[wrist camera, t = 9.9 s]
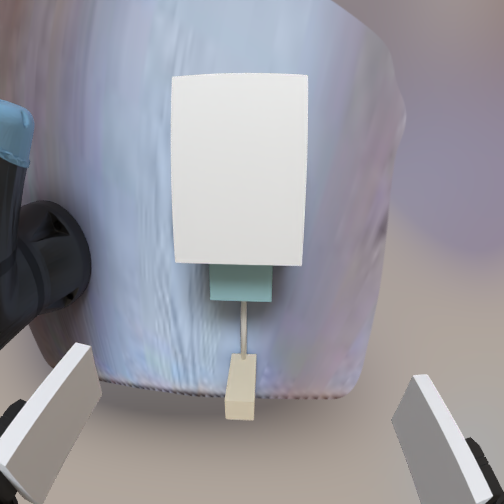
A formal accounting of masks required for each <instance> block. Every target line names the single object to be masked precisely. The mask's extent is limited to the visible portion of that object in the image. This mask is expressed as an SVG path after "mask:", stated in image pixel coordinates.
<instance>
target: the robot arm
mask: <svg viewBox="0 0 504 504" xmlns="http://www.w3.org/2000/svg"><path fill="white" fill-rule="evenodd" d="M33 133H34V120H33V117H32V115H31V113H30V112H29V111H28V110H27V109H25V108H23V107H21V106H19V105H16V104H13V103H11V102H8V101H4V100H1V99H0V350H1V349H2V348H3V347H4V346H5V345H6V344H7V343H8V342H9V341H10V340H11V339H12V338H14V336H16V335H17V334H18V333H19V332H20V331H21V330H22V329H23V328H24V327H25V326H26V325H28V324H29V323H30V322H31V321H32V320H33V319H34V318H35V317H37V316H38V315H40V314H44V313H48V312H51V311H55V310H59V309H62V308H65V307H67V306H69V305H70V304H72V303H73V302H74V301H75V300H76V299H77V298H78V297H79V296H81V294H82V293H83V292H84V290H85V289H86V287H87V284H88V282H89V278H90V272H91V259H90V252H89V248H88V244H87V241H86V238H85V236H84V234H83V232H82V230H81V228H80V226H79V225H78V223H77V222H76V220H75V219H74V218H73V216H72V215H71V214H70V213H69V212H68V211H67V210H65V209H64V208H63V207H61V206H60V205H58V204H56V203H53V202H50V201H44V200H43V201H36V202H32V203H29V204H26V205H24V206H22V207H21V201H22V194H23V188H24V181H25V176H26V170H27V168H29V165H30V160H29V154H30V148H31V143H32V138H33ZM101 396H102V390H101V387H100V383H99V379H98V375H97V371H96V367H95V362H94V358H93V353H92V349H91V346H88V345H84V344H80V343H75V344H74V345H73V346H72V347H71V349H70V350H69V351H68V352H67V353H66V355H65V356H64V357H63V358H62V359H61V360H60V362H59V363H58V364H57V365H56V366H55V368H54V369H53V370H52V372H51V373H50V374H49V375H48V376H47V378H46V379H45V380H44V381H43V382H42V384H41V385H40V386H39V387H38V389H37V390H36V391H35V393H34V394H33V395H32V397H31V398H30V399H29V400H28V401H27V402H26V401H24V400H21V399H20V400H18V401H17V402H15V403H13V404H12V405H10V406H9V408H8V409H7V410H6V411H5V412H4V414H3V416H1V418H0V504H18V501H17V499H16V497H15V494H16V492H17V491H18V492H19V494H20V495H22V497H23V498H24V499H26V500H28V501H29V502H31V503H33V504H43V503H44V500H45V499H46V497H47V494H48V493H49V490H50V489H51V487H52V485H53V483H54V481H55V479H56V477H57V475H58V473H59V471H60V469H61V467H62V466H63V463H64V462H65V460H66V458H67V456H68V454H69V453H70V451H71V449H72V447H73V445H74V443H75V442H76V440H77V438H78V436H79V434H80V433H81V431H82V429H83V427H84V425H85V424H86V422H87V420H88V419H89V417H90V415H91V413H92V411H93V410H94V408H95V406H96V404H97V403H98V401H99V399H100V398H101ZM391 421H392V424H393V426H394V429H395V432H396V434H397V437H398V439H399V442H400V445H401V448H402V450H403V453H404V456H405V458H406V461H407V464H408V467H409V470H410V473H411V475H412V478H413V481H414V484H415V487H416V490H417V493H418V496H419V499H420V502H421V504H504V492H503V490H502V488H501V486H500V484H499V482H498V480H497V478H496V476H495V474H494V472H493V470H492V468H491V466H490V465H488V461H487V459H486V457H484V453H483V451H482V450H481V448H480V446H479V445H478V444H477V443H476V442H475V441H474V440H473V439H472V438H471V437H470V438H467V439H464V437H463V435H462V433H461V431H460V429H459V428H458V426H457V424H456V422H455V421H454V419H453V417H452V415H451V413H450V412H449V410H448V408H447V407H446V405H445V403H444V401H443V400H442V398H441V396H440V394H439V393H438V391H437V389H436V388H435V386H434V384H433V383H432V381H431V379H430V378H429V376H428V375H427V374H426V375H413V376H412V378H411V380H410V383H409V385H408V387H407V389H406V391H405V394H404V395H403V398H402V400H401V402H400V404H399V406H398V408H397V410H396V411H395V413H394V415H393V417H392V419H391Z"/></svg>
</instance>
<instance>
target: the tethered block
mask: <svg viewBox="0 0 504 504" xmlns="http://www.w3.org/2000/svg"><path fill="white" fill-rule="evenodd" d="M272 274H273V265H238V264H209V280H210V300H224V301H241V354H235V353H232V356H231V362H230V369H229V375H228V382H227V388H226V395H225V414H226V419H233V420H254V404H255V382H256V354H246V343H247V301H255V302H271V298H272Z"/></svg>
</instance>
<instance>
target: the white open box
mask: <svg viewBox="0 0 504 504" xmlns="http://www.w3.org/2000/svg"><path fill="white" fill-rule="evenodd" d="M307 135H308V75H297V74H275V73H224V74H202V75H188V76H176V77H172V96H171V186H172V214H173V234H174V251H175V263H202V264H238V265H280V266H302V252H303V236H304V218H305V197H306V172H307Z"/></svg>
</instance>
